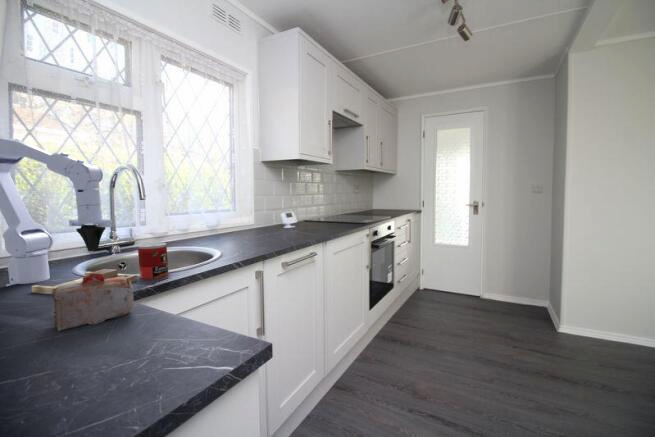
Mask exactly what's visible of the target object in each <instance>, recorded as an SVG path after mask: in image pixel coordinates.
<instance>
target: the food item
mask: <svg viewBox="0 0 655 437" xmlns="http://www.w3.org/2000/svg"><path fill="white" fill-rule="evenodd" d="M82 278H83V282H80V283H74V284H69V285H62V286H58V287H57V288H55V289H54V290H53V291H54V292H53V291H52V292H53V294H52V295H53V302H54V311H53V314H54V315H53V317H54V321H55V323H54V325H55V327H56V329H57V331H58V332H61V331H64V330H69V329H73V328H77V327H81V326H84V325H87V324H88V325H98V324H99V323H103V322H105V321H107V320H109V319H115V318H119V317H121V316H125V315H128V313H129V312H131V311H132V309H133V308H134V306H135V305H134V299H135V298H134V286H133V284H132V282H130V281H129V280H128V279H127V278H126V277H125V276H121V277H115V278H108V279H105V278H104V276H102V275H89V276H88V275H87V276H86V277H85V276H84V277H82Z"/></svg>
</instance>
